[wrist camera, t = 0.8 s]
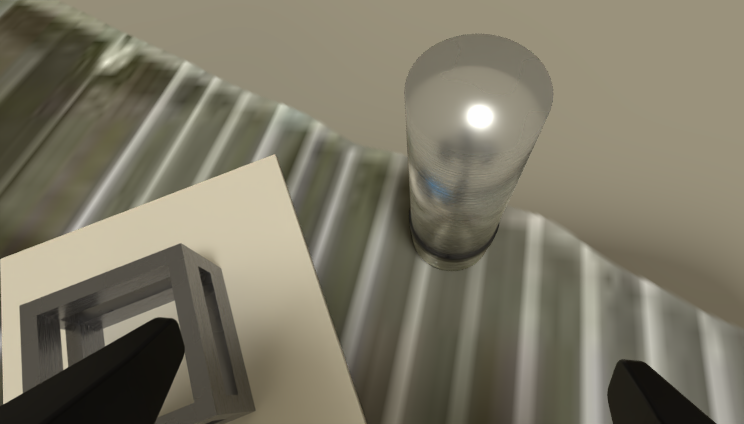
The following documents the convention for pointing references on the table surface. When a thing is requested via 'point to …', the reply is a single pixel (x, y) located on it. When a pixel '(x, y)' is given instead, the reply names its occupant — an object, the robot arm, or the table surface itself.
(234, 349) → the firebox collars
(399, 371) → the table surface
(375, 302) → the table surface
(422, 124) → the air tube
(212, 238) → the tile
